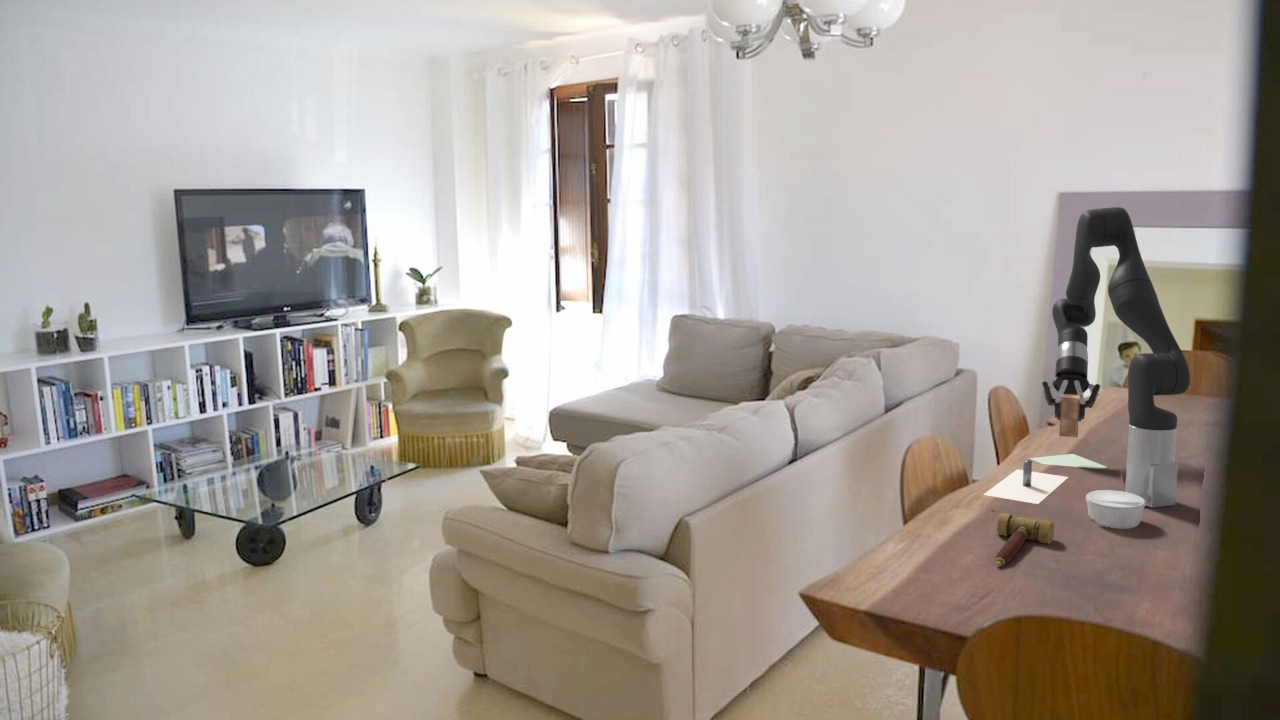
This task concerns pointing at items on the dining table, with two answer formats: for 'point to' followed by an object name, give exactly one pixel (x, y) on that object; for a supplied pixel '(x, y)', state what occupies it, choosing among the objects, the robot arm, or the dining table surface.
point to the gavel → (1020, 534)
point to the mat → (1068, 461)
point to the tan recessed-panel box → (1069, 415)
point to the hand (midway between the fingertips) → (1069, 418)
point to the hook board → (1026, 492)
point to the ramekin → (1115, 508)
